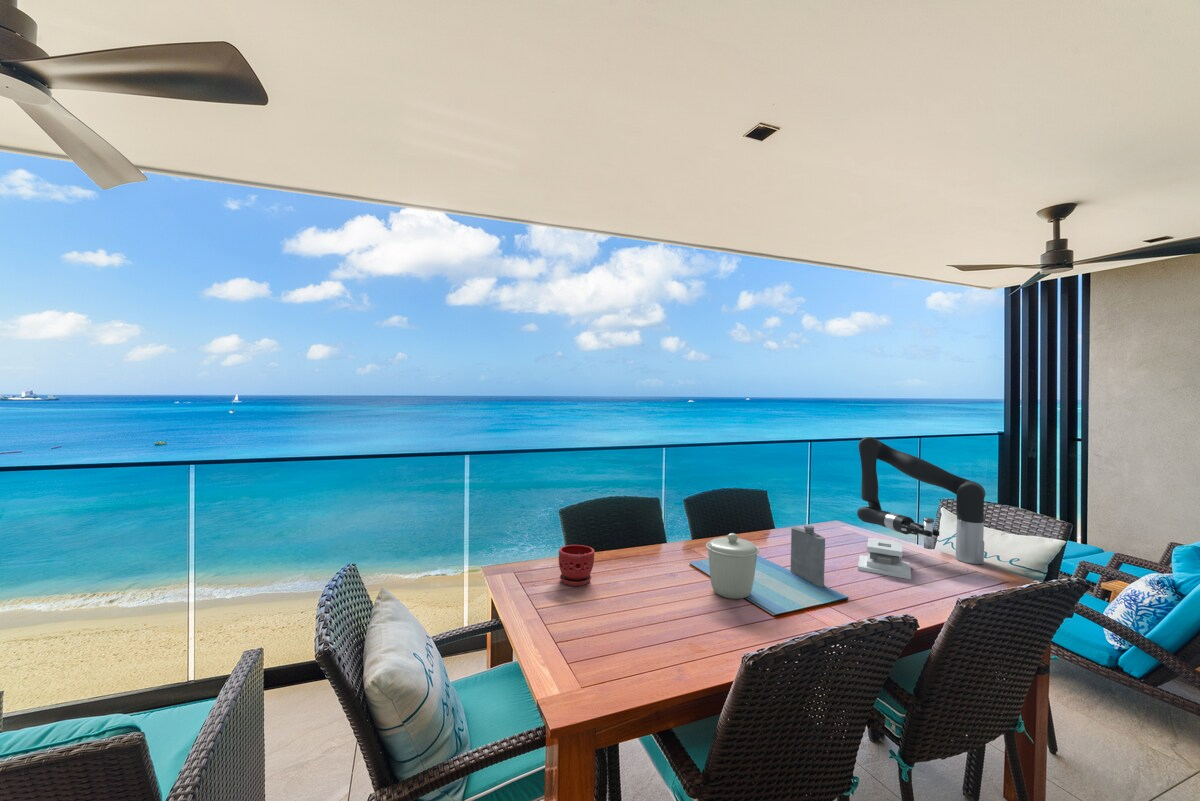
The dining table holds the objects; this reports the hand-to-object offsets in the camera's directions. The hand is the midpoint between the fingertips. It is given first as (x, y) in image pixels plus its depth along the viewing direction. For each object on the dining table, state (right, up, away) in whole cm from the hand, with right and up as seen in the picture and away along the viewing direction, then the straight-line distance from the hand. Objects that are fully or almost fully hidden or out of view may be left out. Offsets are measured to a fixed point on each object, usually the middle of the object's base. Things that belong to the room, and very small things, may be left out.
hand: (934, 534), depth 198 cm
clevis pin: (-1, -6, +3) cm, 7 cm away
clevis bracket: (-20, -14, +1) cm, 24 cm away
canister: (-89, -14, -25) cm, 93 cm away
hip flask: (-56, -14, -11) cm, 59 cm away
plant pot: (-144, -13, -16) cm, 145 cm away
